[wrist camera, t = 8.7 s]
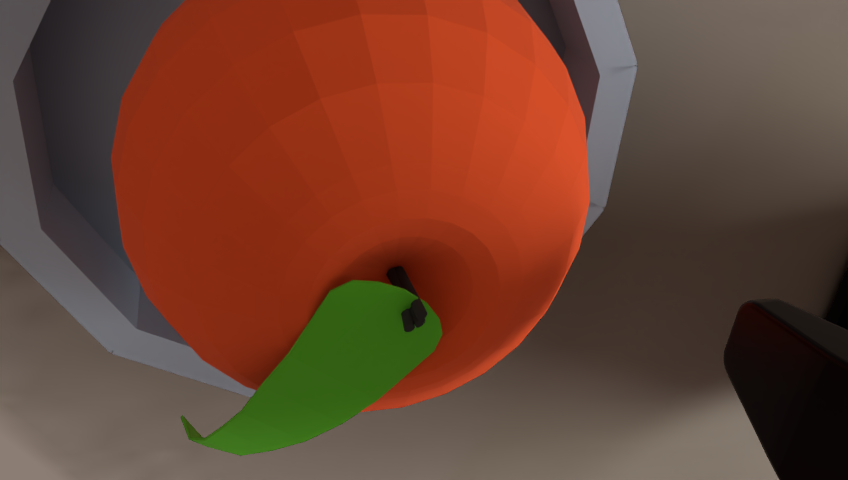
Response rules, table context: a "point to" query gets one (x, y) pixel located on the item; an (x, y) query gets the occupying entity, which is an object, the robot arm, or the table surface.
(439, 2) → the clementine
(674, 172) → the table surface
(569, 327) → the table surface
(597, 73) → the saucer
